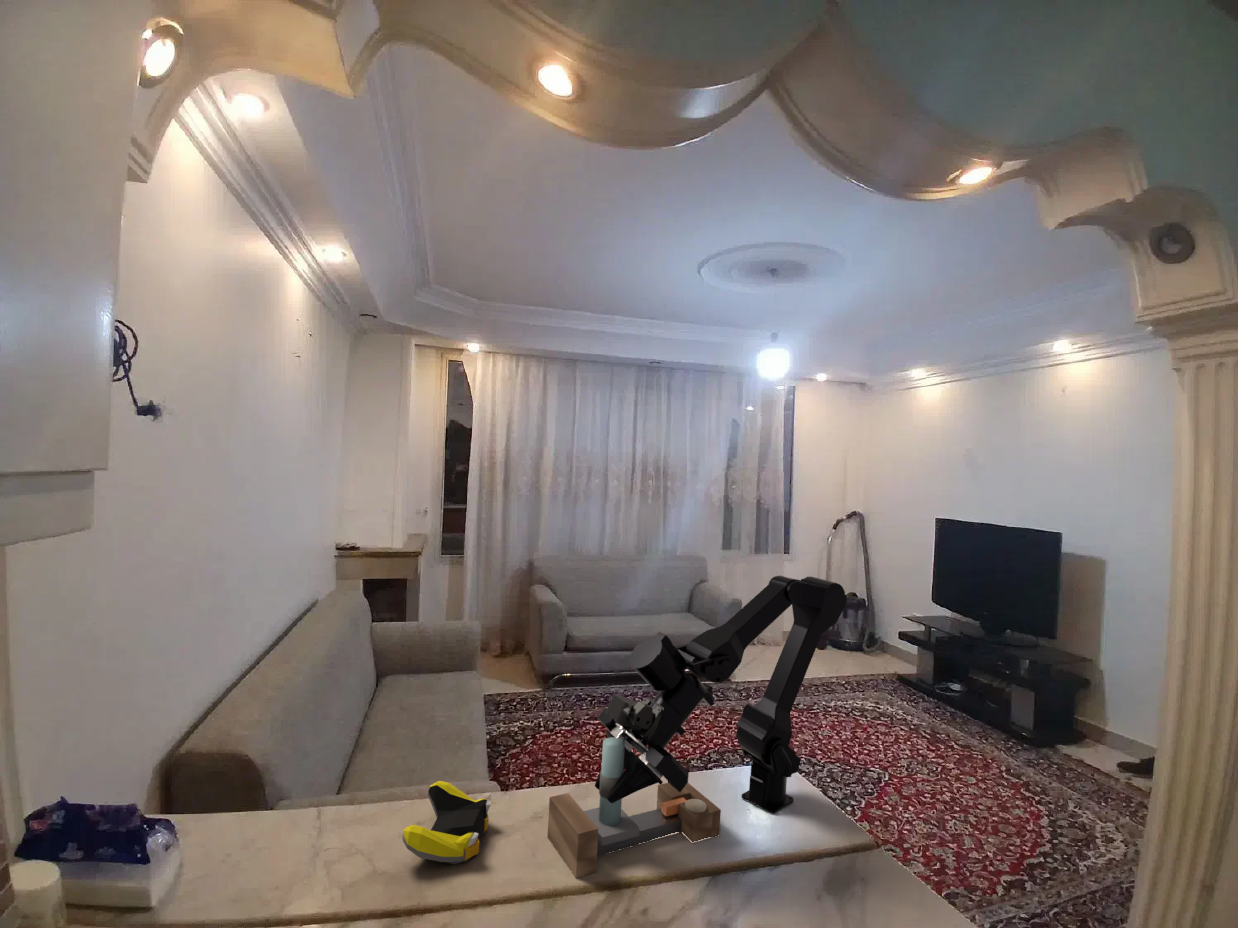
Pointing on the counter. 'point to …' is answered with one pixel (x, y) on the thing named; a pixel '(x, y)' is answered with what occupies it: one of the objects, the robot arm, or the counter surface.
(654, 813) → the track
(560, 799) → the end cabinet
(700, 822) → the end cabinet
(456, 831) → the gaming controller
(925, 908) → the counter surface
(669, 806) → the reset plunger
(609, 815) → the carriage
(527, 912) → the counter surface
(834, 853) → the counter surface
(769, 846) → the counter surface
